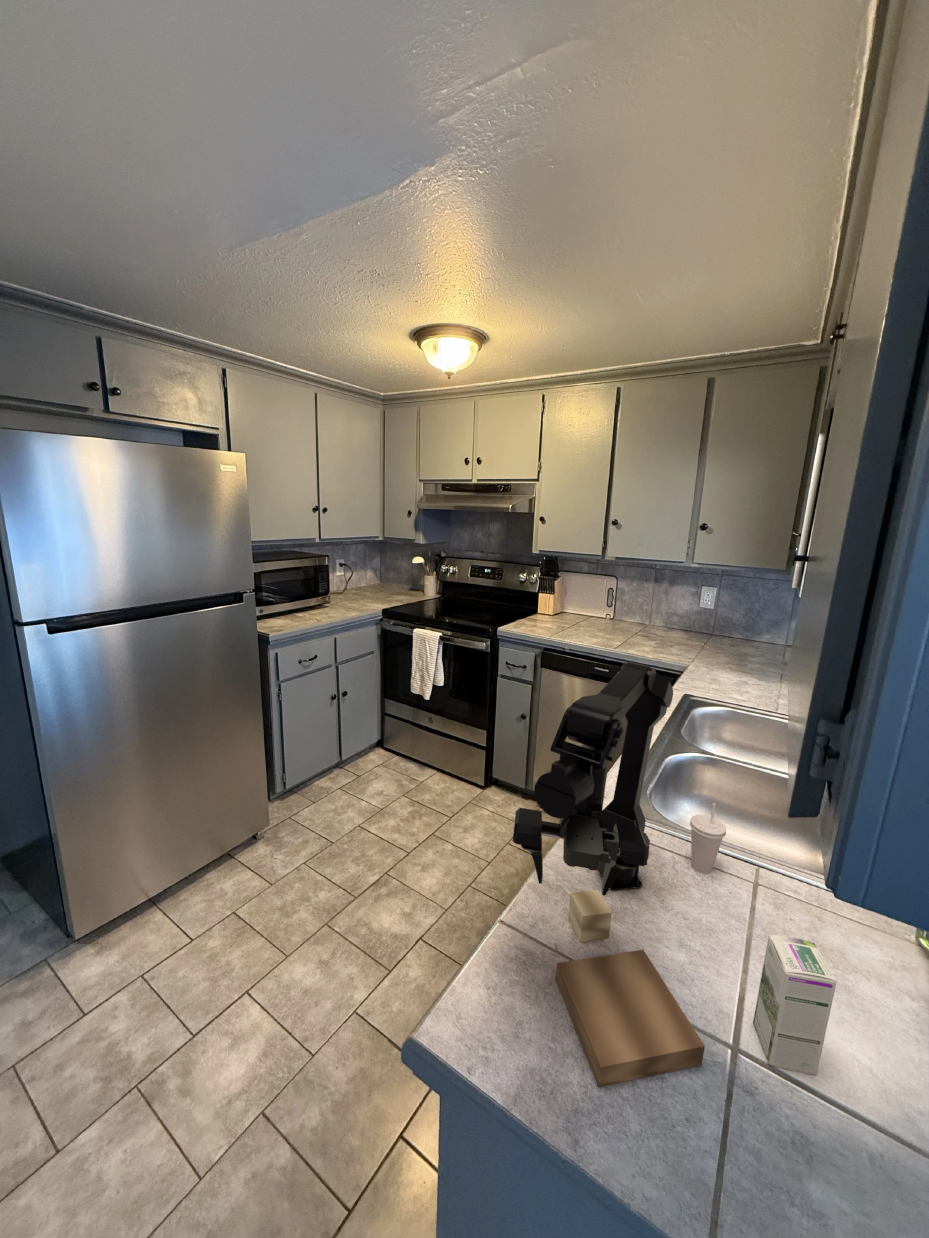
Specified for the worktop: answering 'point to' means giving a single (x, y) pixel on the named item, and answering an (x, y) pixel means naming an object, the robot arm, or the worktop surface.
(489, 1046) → the worktop surface
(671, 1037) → the walnut base
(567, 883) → the worktop surface
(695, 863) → the smoothie
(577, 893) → the maple cube
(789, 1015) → the syrup box
